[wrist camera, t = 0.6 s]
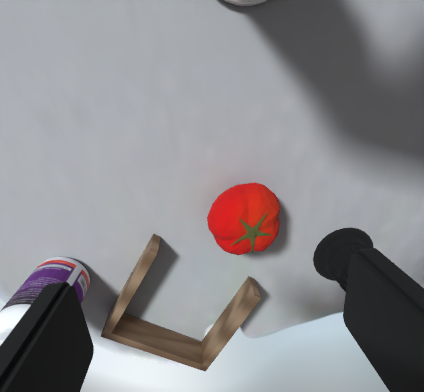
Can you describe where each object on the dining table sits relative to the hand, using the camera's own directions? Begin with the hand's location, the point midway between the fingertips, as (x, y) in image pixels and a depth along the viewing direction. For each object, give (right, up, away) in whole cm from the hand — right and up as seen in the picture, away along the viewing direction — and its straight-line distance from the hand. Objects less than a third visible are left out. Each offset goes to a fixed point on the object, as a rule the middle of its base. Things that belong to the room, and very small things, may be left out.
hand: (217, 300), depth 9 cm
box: (-5, -13, +37) cm, 39 cm away
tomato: (+4, +2, +32) cm, 32 cm away
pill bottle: (-23, -9, +34) cm, 42 cm away
